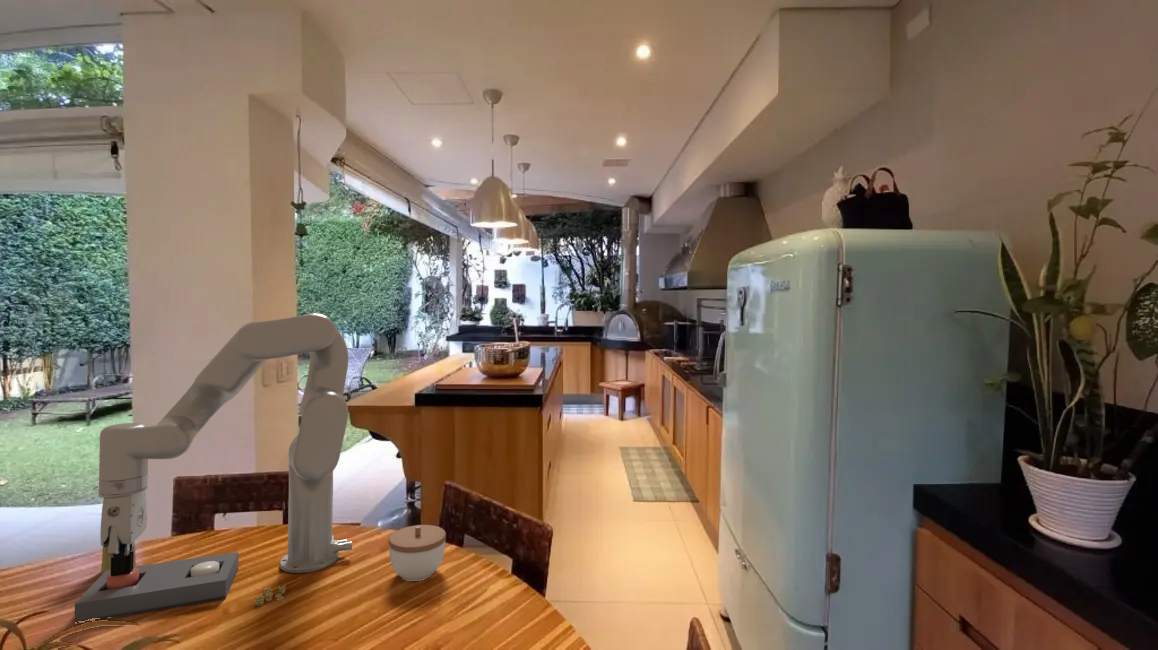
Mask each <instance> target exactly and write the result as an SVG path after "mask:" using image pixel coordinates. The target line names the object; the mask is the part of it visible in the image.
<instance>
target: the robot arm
mask: <svg viewBox="0 0 1158 650" xmlns="http://www.w3.org/2000/svg"><path fill="white" fill-rule="evenodd" d="M306 353H309V366H308V372H307V373H308V374H307V379H306V383H305V385H304V386H305V387H304V391H303V395H302V399H301V401H300V406H299V412H300V416H301V420H300V424H299V429H298V433H297V435H296V436H295V437H294V438H293V440H292V441H291V442H290V445H289V446H288V447H289V448H288V452H287V453H288V454H287V455H288V457H287V459H288V461H287V462H288V511H287V512H288V518H287V524H288V525H287V554H285V555H284V556H283V557H282V558H281V559H280V562H279V566H280V569H281V570H282V571H283V572H286V573H291V574H304V573H306V574H307V573H311V572H316V571H319V570H323V569H325V568H327V567H330V566H331V565H332V564H334V563H335V562H336V561H337V560H338V559H339V555H340V552H343V551H351V550H353V541H352V540H351V541H348V539H347V538H346V539H341V540H337V539H334V537H335V536H334V534H333V515H334V514H333V508H334V505H333V501H334V471H335V469H336V468H337V466H338V463H339V461H340V458H341V452H342V447H343V444H344V439H345V434H346V430H347V423H348V419H349V418H348V417H349V407H348V406H349V405H348V403H347V401H346V399H345V398H344V393H345V385H346V380H347V374H348V373H347V372H348V367H349V351H348V347H347V343H346V341H345V339H344V337H343V335H342V334H341V332H340V331H339V329H337V328H336V325H335V323H334V322H333V320H332V319H331V318H329V317H328V316H326V315H324V314H321V313H315V312H310V313H305V314H303V315H297V316H291V317H286V318H278V319H271V320H265V321H263V320H262V321H250V322H247V323H245V324H244V325H242V326H241V327H240V328H239V329H238V330H237V331H236V332H235V333H234V335H233V336H232V337H231V338H230V339H229V340H228V342H226V344H225V345H224V346H223V347H222V348H221V349H220V350H219V351H218V352H217V354H216V355H215V356H214V357H213V358H212V359H211V360H210V361H209V362H208V363H207V365H205V367H204V368H203V369H202V370H201V371H200V372H199V374H198V375H197V376H196V378H195V379H194V381H193V383H192V385H191V386H190V387H189V388H188V389H187V391H186V392H184V394H183V395H182V396H181V397H180V398H179V400H178V401H177V402H176V403H175V404H174V405H173V406H172V407H171V409H170V410H169V411H168V412H167V413H166V414H165V416H163V417H162V418H161V419H160V421H159V422H158V423H157V424H156V425H152V426H149V425H148V426H147V425H145V424H144V423H139V422H126V423H118V424H117V423H116V424H111V425H107V426H106V427H104V428H103V429H102V430H101V431H100V434H99V450H98V451H99V459H98V461H99V464H98V497H100V498H103V500H102V506H101V515H100V516H101V519H100V545H101V546H102V548H103V547H107V546H108V545H109V549H108V555H110V557H111V576H118V575H125V574H130V573H131V571H132V570H133V565H134V551H133V550H134V541H135V542H136V540H138V538H139V537H140V536H141V535H142V534H143V533H144V532H145V530H146V529H147V525H148V519H147V518H148V514H147V513H148V512H147V494H146V490H148V481H149V479H148V478H149V476H148V475H149V474H148V471H149V460H170V459H171V460H172V459H176V458H178V457H181V456H183V455H184V454H185V453H186V452H187V451H189V449H190V447H191V446H192V443H193V440H194V438H195V437H196V436H197V435H198V433H199V432H200V431H201V430H202V429H203V428H204V426H205V425H207V423H208V422H209V421H210V419H211V418H212V417H213V416H214V415H215V414H216V412H218V411H219V410H220V408H221V407H223V406H224V405H225V404H226V403H227V402H229V401H231V400H233V399H234V398H235V397H236V396H237V395H238V394H239V393H240V392H241V390H242V389H244V387H245V386H246V384H247V383H248V382H249V381H250V380H251V378H253V376H254V375H255V374H256V373H257V372H258V371H259V369H260V368H261V367H262V366H263V365H264V363H266V361H267V360H273V359H281V358H286V357H291V356H296V355H302V354H306ZM130 551H133V552H130Z"/></svg>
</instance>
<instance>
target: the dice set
mask: <svg viewBox="0 0 1158 650" xmlns="http://www.w3.org/2000/svg"><path fill="white" fill-rule="evenodd" d="M286 587H287V586H286V584H280V585H279V586H278V587H277V594H275V595H274V593H273V591H272V589H271V587H265V588H263V589H262V595H259V596H257V597H256V598H255V606H256V607H260V606H263V605H264V604H265V601H266V602H270V601H273V595H274V598H276V601H278V602H282V601H283V600H285V597H284V596H283V594H285V593H286V592H287V591H286V589H287V588H286Z"/></svg>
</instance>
